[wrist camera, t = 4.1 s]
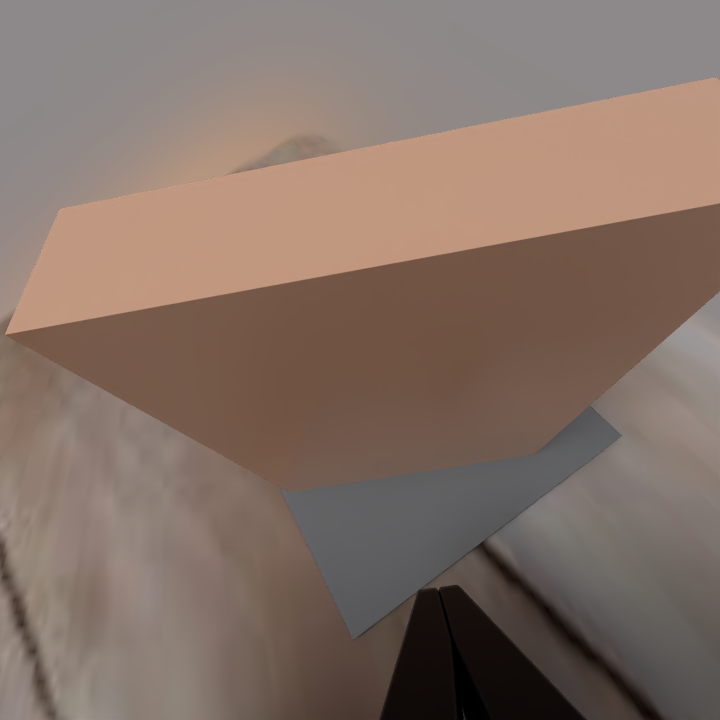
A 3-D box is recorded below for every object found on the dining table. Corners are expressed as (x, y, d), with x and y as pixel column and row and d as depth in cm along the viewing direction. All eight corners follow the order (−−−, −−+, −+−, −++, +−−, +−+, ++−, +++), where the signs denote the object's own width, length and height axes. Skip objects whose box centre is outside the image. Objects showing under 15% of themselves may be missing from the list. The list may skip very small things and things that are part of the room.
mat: (616, 438, 15) (621, 435, 14) (354, 638, 13) (352, 640, 12) (401, 235, 22) (401, 230, 21) (210, 342, 20) (207, 338, 19)
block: (534, 454, 14) (845, 180, 4) (289, 492, 15) (4, 334, 5) (513, 397, 16) (711, 74, 5) (287, 434, 16) (61, 204, 6)
